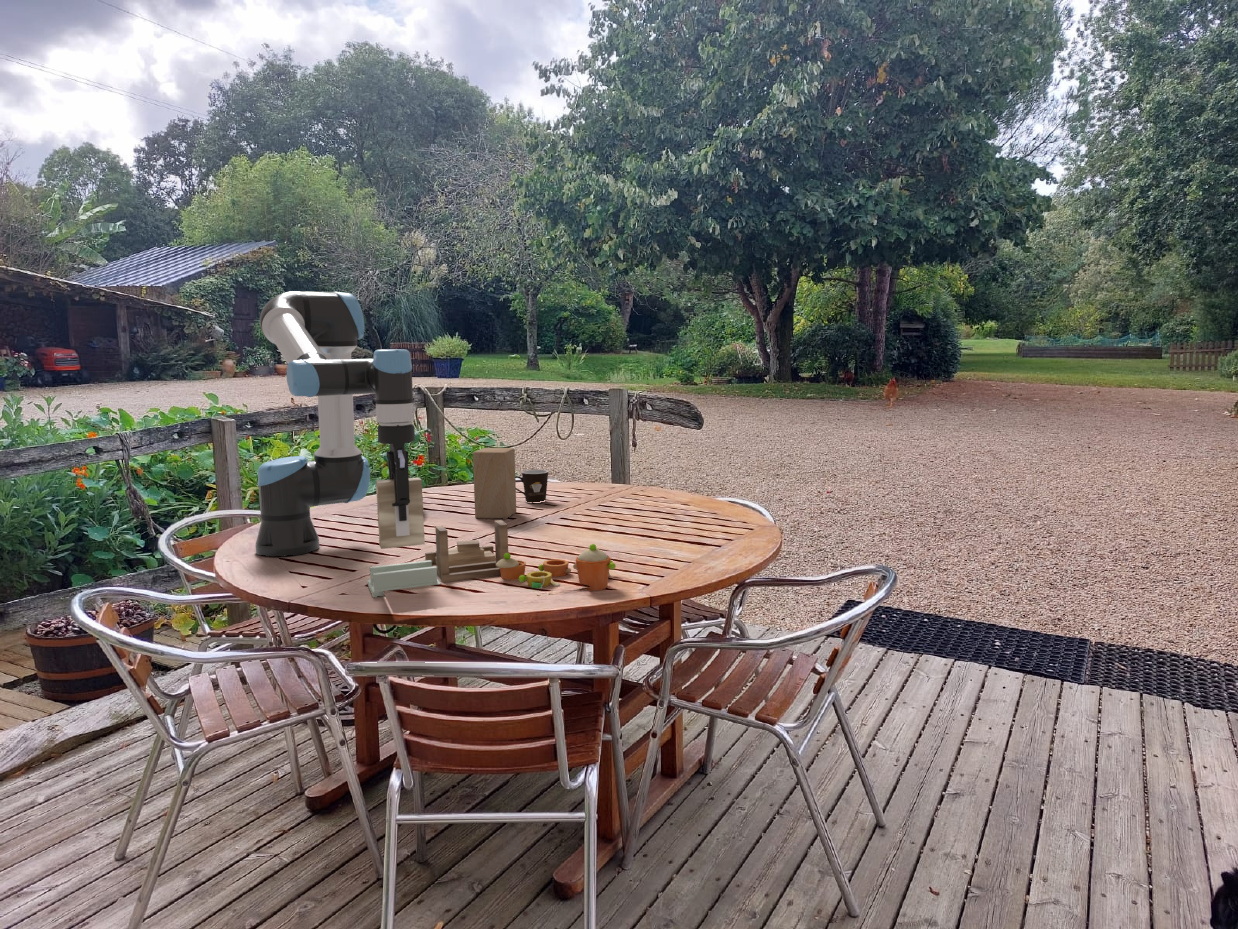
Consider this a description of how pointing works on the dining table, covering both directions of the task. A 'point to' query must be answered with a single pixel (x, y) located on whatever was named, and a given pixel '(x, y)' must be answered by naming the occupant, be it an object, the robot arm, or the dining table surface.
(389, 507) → the birch block
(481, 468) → the wooden block
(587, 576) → the toy tea set
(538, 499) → the coffee mug
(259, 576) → the dining table surface
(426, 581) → the stand
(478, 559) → the rack
